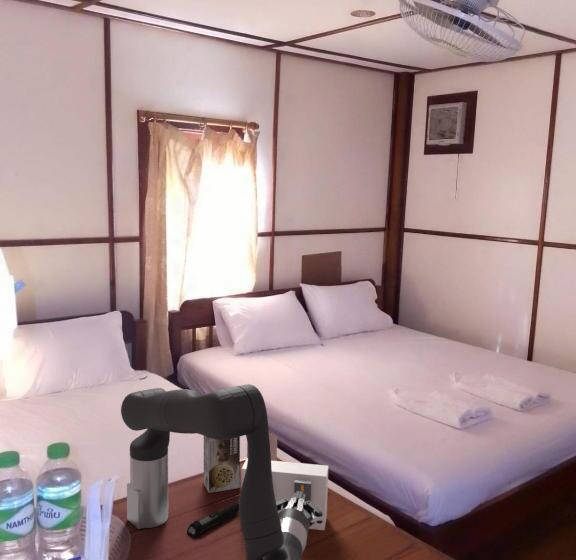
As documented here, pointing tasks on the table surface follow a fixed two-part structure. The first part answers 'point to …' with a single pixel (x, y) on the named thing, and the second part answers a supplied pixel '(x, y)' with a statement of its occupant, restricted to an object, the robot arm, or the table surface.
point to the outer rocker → (303, 488)
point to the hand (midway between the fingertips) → (299, 495)
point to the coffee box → (221, 464)
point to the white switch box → (291, 471)
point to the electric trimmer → (212, 520)
